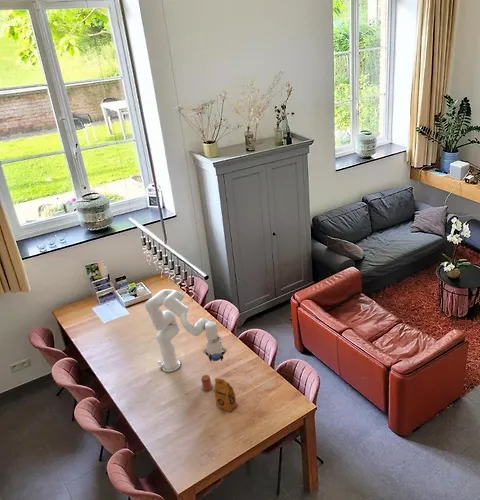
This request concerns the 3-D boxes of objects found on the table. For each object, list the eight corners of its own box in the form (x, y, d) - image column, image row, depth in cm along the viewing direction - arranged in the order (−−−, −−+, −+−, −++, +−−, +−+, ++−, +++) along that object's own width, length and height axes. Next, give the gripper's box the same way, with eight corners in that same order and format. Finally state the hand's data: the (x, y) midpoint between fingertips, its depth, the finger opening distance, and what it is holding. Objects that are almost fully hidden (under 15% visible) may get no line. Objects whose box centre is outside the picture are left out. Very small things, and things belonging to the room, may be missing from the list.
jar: (202, 391, 356) (200, 380, 352) (203, 384, 362) (201, 374, 357) (211, 390, 357) (209, 380, 352) (212, 384, 362) (210, 374, 357)
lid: (212, 354, 359) (211, 352, 358) (221, 354, 359) (221, 352, 359) (210, 361, 353) (209, 359, 352) (220, 360, 354) (219, 358, 353)
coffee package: (228, 414, 337) (224, 388, 327) (214, 407, 343) (210, 381, 333) (239, 404, 345) (235, 379, 334) (225, 397, 351) (221, 372, 340)
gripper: (226, 334, 352) (230, 355, 361) (200, 335, 352) (204, 356, 360) (225, 341, 346) (228, 362, 354) (198, 342, 345) (202, 364, 354)
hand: (216, 359), depth 357 cm, fingers closed on lid, 6 cm apart
